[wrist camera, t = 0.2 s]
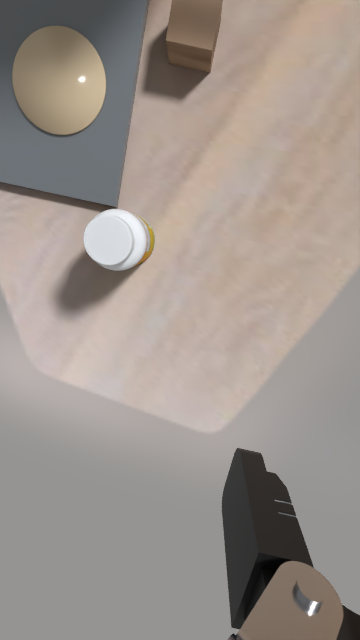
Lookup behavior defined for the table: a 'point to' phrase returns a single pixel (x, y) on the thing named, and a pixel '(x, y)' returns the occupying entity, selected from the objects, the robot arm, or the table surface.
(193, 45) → the walnut block
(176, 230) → the table surface
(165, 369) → the table surface
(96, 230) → the supplement bottle
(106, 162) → the slate board
